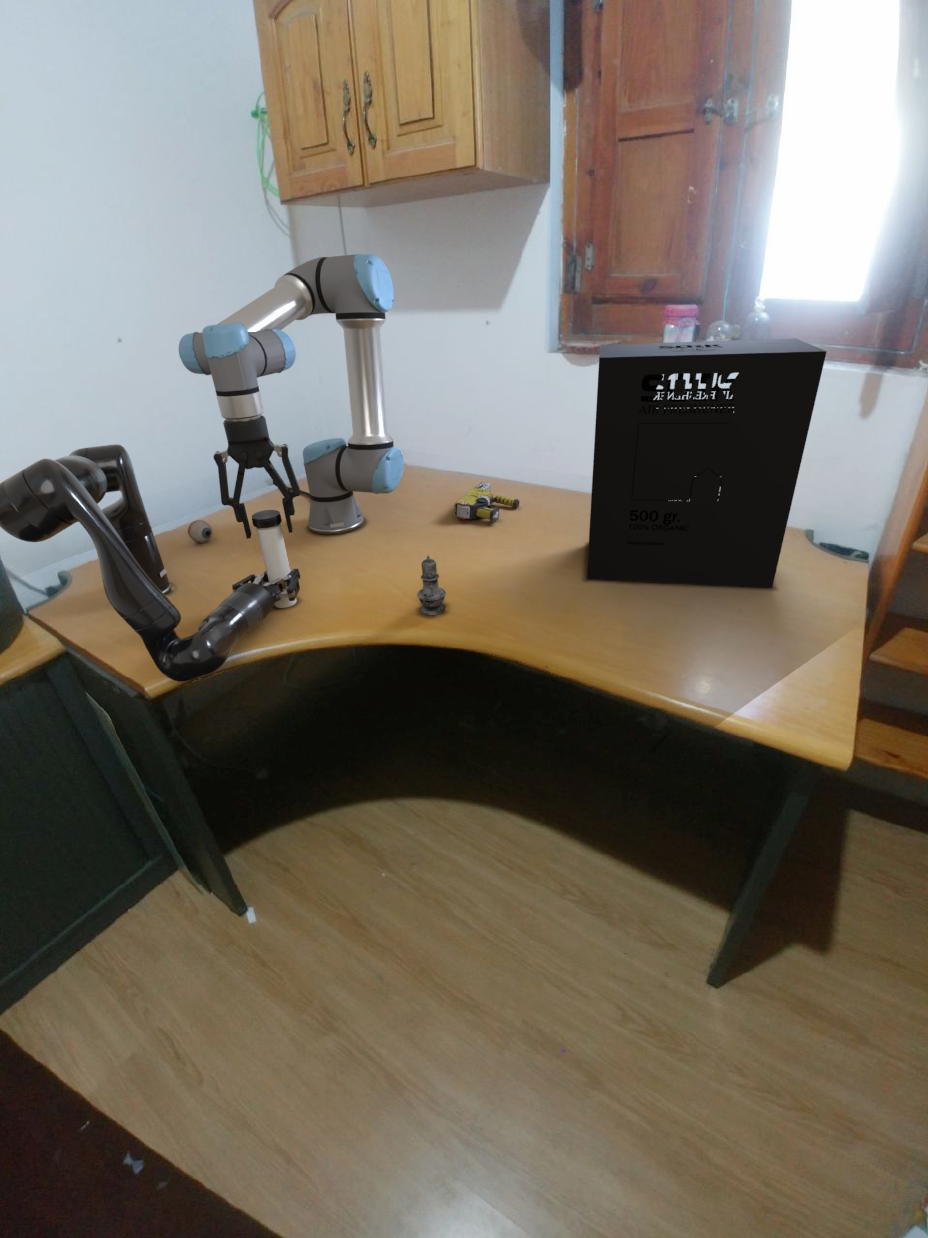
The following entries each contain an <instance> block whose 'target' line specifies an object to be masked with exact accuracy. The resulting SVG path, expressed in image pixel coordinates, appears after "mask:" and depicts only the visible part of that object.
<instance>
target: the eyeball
mask: <svg viewBox="0 0 928 1238" xmlns="http://www.w3.org/2000/svg"><path fill="white" fill-rule="evenodd" d="M187 534H188V537H189V538H190V539H191V540H192V541H193V542H196V543H198V544H199V543H201V544H202V543H207V542H208V541H209V540H211V538H212V536H213V527H212V526H211V524H210V523H209V522H207V521H205V520H201V519H197V520H193V521H192V522H191V523H190V524H189V525H188V527H187Z"/></svg>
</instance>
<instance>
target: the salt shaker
mask: <svg viewBox="0 0 928 1238" xmlns="http://www.w3.org/2000/svg"><path fill="white" fill-rule="evenodd" d="M437 570H438V569H437V562H436V560H434V559H432V558H431V557H430V555H427V556H426V559H424V560H423V561H422V562H421V572H422V573H421V576H420V579H421V580H422V588H421V589H419V590H418V592H417V594H416V597H417V598H418V600H419V602H420V604H421V606H420V607H419V612H420V613H421V614H423V615H427V616H436V615H440V614H442V613H443V612H445V611H446V605H445V604H444V603H443V602H444V600H445V596H446V595H447V591H446V590H445V589H444V588H442V587H439V578H440V575H439V573H438V571H437Z"/></svg>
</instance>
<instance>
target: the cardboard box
mask: <svg viewBox="0 0 928 1238" xmlns="http://www.w3.org/2000/svg"><path fill="white" fill-rule="evenodd" d="M827 352H828V351H827V350H824V349H822V348H820V347H818V346H815V345H813V344H811V343H808V342H806V341H802V340H801V339H799V338H768V339H766V338H765V339H737V340H736V339H735V340H709V341H708V340H707V341H705V340H703V341H675V342H672V341H671V342H648V343H647V342H646V343H645V342H644V343H643V342H642V343H616V344H615V343H614V344H612V343H611V344H600V348H599V355H598V356H599V358H598V370H597V371H598V372H597V390H596V391H597V392H596V409H595V410H596V411H595V426H594V445H593V459H592V460H593V461H592V462H593V463H592V479H591V497H590V515H589V532H588V533H589V535H588V547H587V548H588V549H587V568H586V580H588V581H611V582H635V583H655V584H657V583H658V584H675V585H676V584H679V585H698V586H699V585H703V586H725V587H743V588H744V587H745V588H746V587H747V588H768V589H773V586H774V582H775V578H776V573H777V569H778V565H779V560H780V555H781V550H782V548H783V543H784V540H785V539H784V538H785V534H786V530H787V525H788V521H789V517H790V513H791V512H790V511H791V509H792V504H793V499H794V496H795V490H796V486H797V483H798V477H799V474H800V469H801V465H802V461H803V456H804V451H805V447H806V444H807V443H806V442H807V439H808V434H809V429H810V425H811V421H812V416H813V412H814V408H815V404H816V400H817V395H818V391H819V387H820V382H821V378H822V373H823V368H824V365H825V360H826V356H827ZM685 374H689V378H688V385H690V388H686V384H687V379H685V378H684V375H685ZM699 374H700V379H699V378H697V375H699ZM715 374H716V380H715V384H714V386H713V383H714V378H715ZM731 374H736V376H735V378H729V377H730V376H731ZM672 375H677V378H676V379H675V380H674V384H673V385H674V387H673V388H671V385H672V379H671V378H670V377H671V376H672ZM719 379H720V381H719ZM700 384H701V385H705V387H704V388H699V385H700ZM719 384H720V385H724V384H729V387H720V386H719ZM659 386H661V387H662V388H658V387H659Z"/></svg>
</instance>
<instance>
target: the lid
mask: <svg viewBox="0 0 928 1238" xmlns="http://www.w3.org/2000/svg"><path fill="white" fill-rule="evenodd" d="M251 522H252V526H253V527H254V528H255V529H256V528H270V527H274V526H276V525H279V524H280V525H281V523H282V522H283V519H282V515H281V512H280V511H279V510H277V509H263V510H260V511H257V512H255V513H253V514H252V515H251Z"/></svg>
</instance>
